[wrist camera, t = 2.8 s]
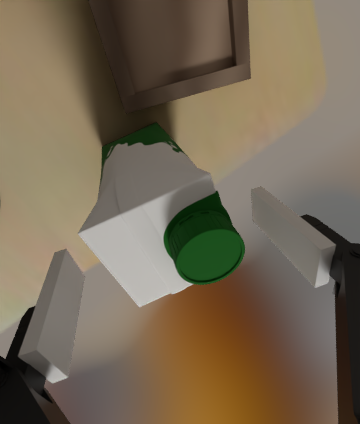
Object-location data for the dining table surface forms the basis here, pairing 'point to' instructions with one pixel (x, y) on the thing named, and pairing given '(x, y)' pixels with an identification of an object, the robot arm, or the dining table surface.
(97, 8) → the walnut tray
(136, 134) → the soya milk
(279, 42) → the dining table surface
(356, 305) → the robot arm
